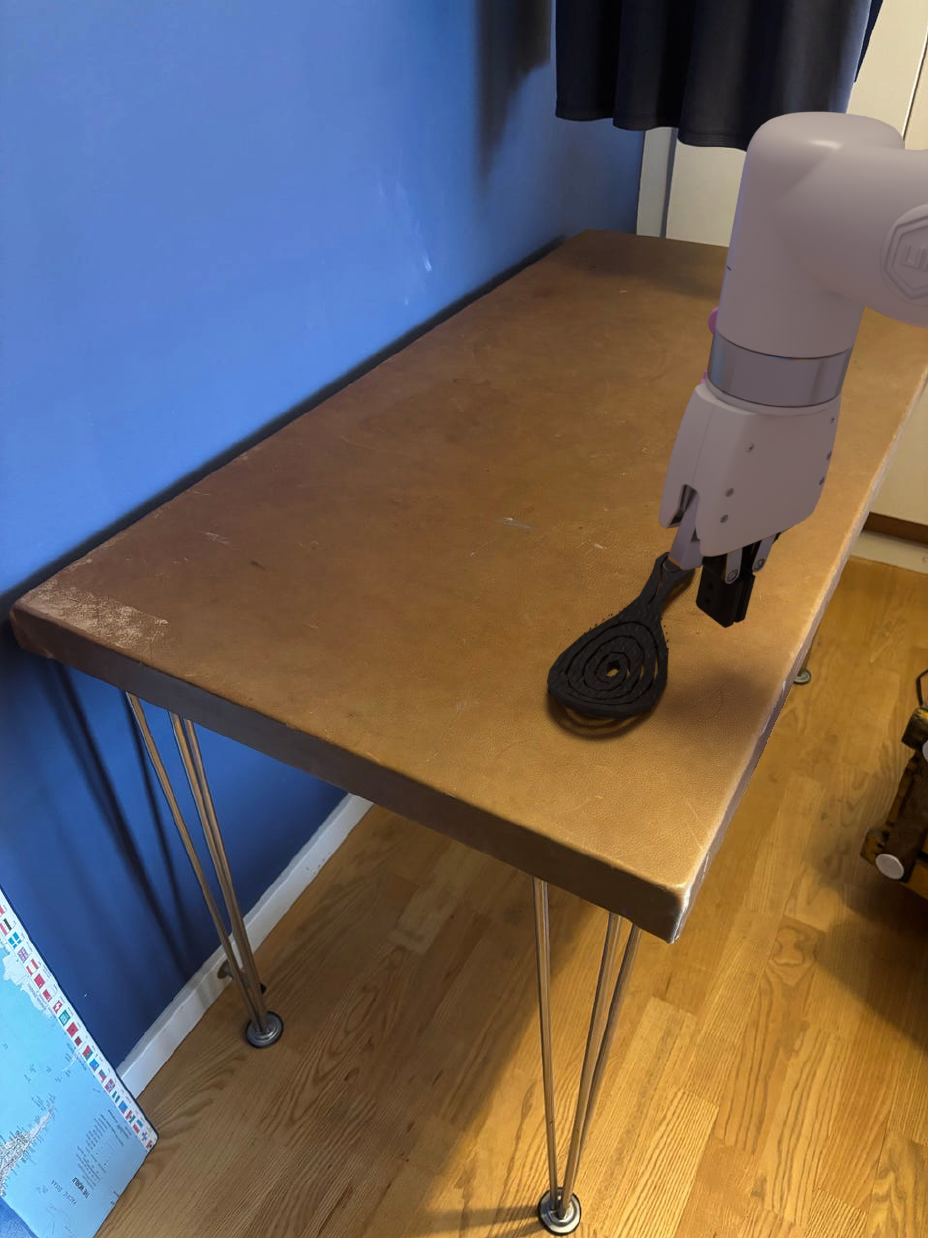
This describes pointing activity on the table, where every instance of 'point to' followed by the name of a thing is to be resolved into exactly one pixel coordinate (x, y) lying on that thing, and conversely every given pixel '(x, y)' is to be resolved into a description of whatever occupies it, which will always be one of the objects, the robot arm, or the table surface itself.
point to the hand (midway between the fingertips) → (719, 613)
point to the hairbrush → (620, 655)
